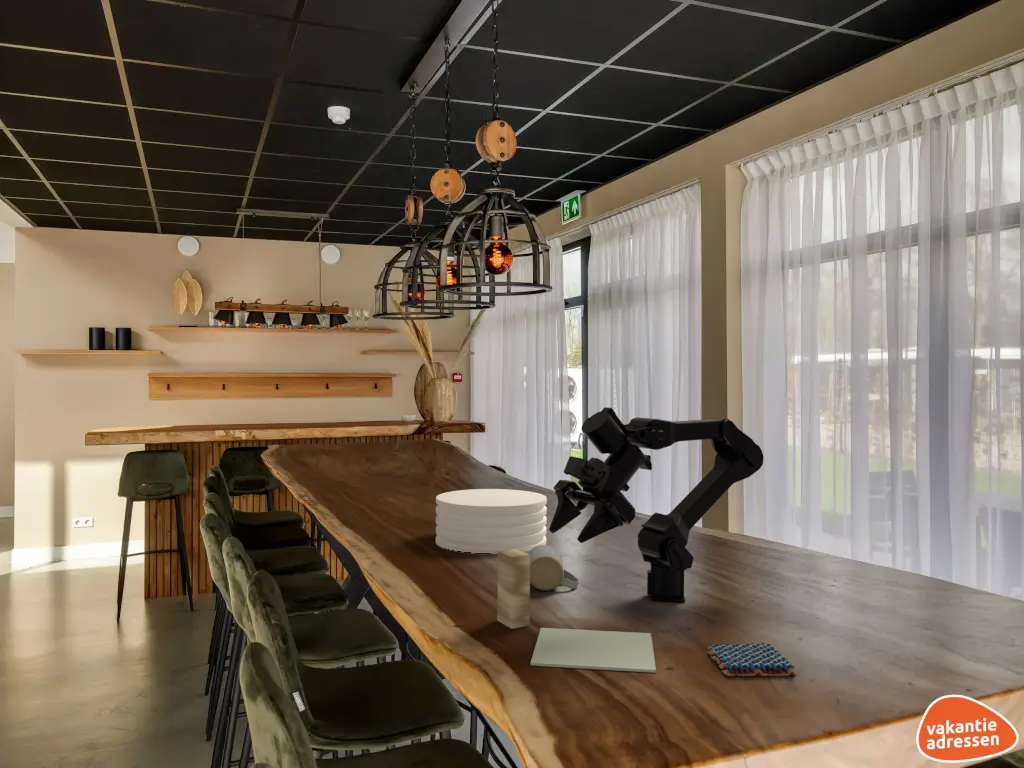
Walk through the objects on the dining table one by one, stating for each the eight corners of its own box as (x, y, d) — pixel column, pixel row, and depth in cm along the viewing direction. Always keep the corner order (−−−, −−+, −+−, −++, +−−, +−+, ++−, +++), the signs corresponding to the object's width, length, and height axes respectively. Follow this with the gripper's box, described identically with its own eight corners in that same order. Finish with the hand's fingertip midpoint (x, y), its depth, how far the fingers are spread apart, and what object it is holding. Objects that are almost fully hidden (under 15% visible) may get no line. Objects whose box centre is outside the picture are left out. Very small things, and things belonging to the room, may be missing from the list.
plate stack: (419, 550, 189) (419, 503, 189) (455, 528, 216) (455, 486, 216) (533, 558, 182) (533, 508, 182) (555, 534, 209) (556, 491, 209)
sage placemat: (650, 635, 128) (650, 633, 128) (655, 672, 112) (655, 669, 112) (540, 630, 130) (540, 627, 130) (530, 665, 114) (530, 662, 114)
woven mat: (771, 653, 122) (771, 640, 122) (798, 680, 111) (799, 666, 111) (704, 653, 121) (705, 640, 121) (725, 680, 111) (725, 666, 111)
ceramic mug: (526, 592, 153) (528, 553, 152) (524, 581, 161) (525, 544, 161) (581, 593, 153) (582, 554, 153) (576, 582, 161) (577, 545, 161)
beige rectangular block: (515, 617, 137) (515, 548, 137) (529, 625, 133) (530, 554, 132) (497, 620, 135) (497, 550, 135) (511, 628, 131) (511, 557, 131)
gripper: (563, 437, 149) (511, 498, 144) (623, 445, 133) (566, 514, 128) (596, 476, 153) (547, 537, 148) (658, 489, 137) (605, 558, 132)
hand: (564, 536), depth 139 cm, fingers open, 9 cm apart
